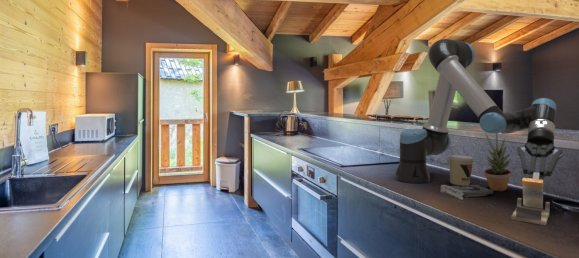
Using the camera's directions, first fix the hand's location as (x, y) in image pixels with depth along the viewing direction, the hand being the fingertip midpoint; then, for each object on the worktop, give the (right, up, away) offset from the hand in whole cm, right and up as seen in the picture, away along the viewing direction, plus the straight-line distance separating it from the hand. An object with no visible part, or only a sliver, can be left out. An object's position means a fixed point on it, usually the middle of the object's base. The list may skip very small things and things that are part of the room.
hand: (534, 191), depth 109 cm
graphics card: (-9, -6, +23) cm, 26 cm away
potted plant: (+7, -5, +31) cm, 32 cm away
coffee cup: (-3, -4, +42) cm, 42 cm away
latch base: (-3, -7, -3) cm, 8 cm away
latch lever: (0, -5, +1) cm, 5 cm away
